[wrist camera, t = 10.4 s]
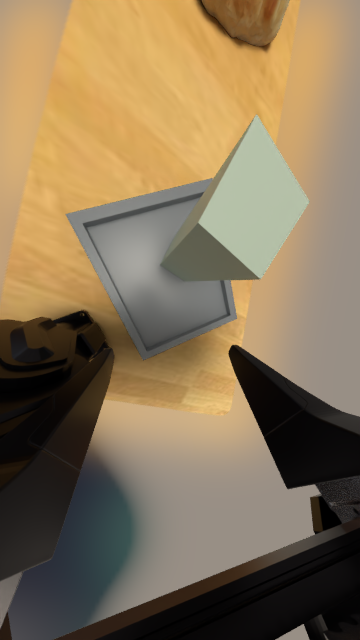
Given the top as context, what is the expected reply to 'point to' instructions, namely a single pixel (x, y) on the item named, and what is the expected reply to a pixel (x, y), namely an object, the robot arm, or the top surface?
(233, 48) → the top surface
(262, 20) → the pastry
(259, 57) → the top surface
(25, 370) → the robot arm
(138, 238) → the tray
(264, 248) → the block
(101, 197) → the top surface
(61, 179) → the top surface
